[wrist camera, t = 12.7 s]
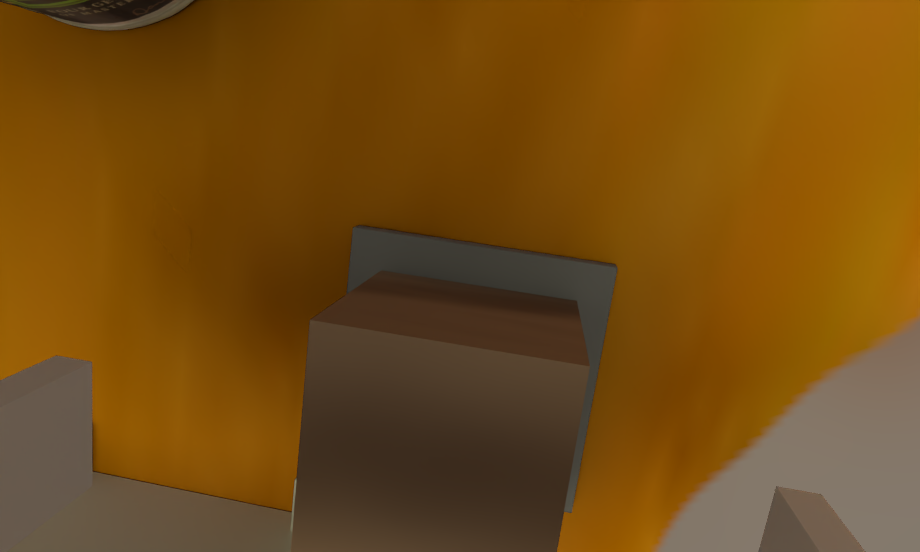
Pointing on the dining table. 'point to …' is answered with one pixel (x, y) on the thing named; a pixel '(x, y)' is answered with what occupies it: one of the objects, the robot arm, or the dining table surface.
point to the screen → (159, 522)
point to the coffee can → (104, 11)
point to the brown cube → (438, 419)
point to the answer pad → (498, 286)
